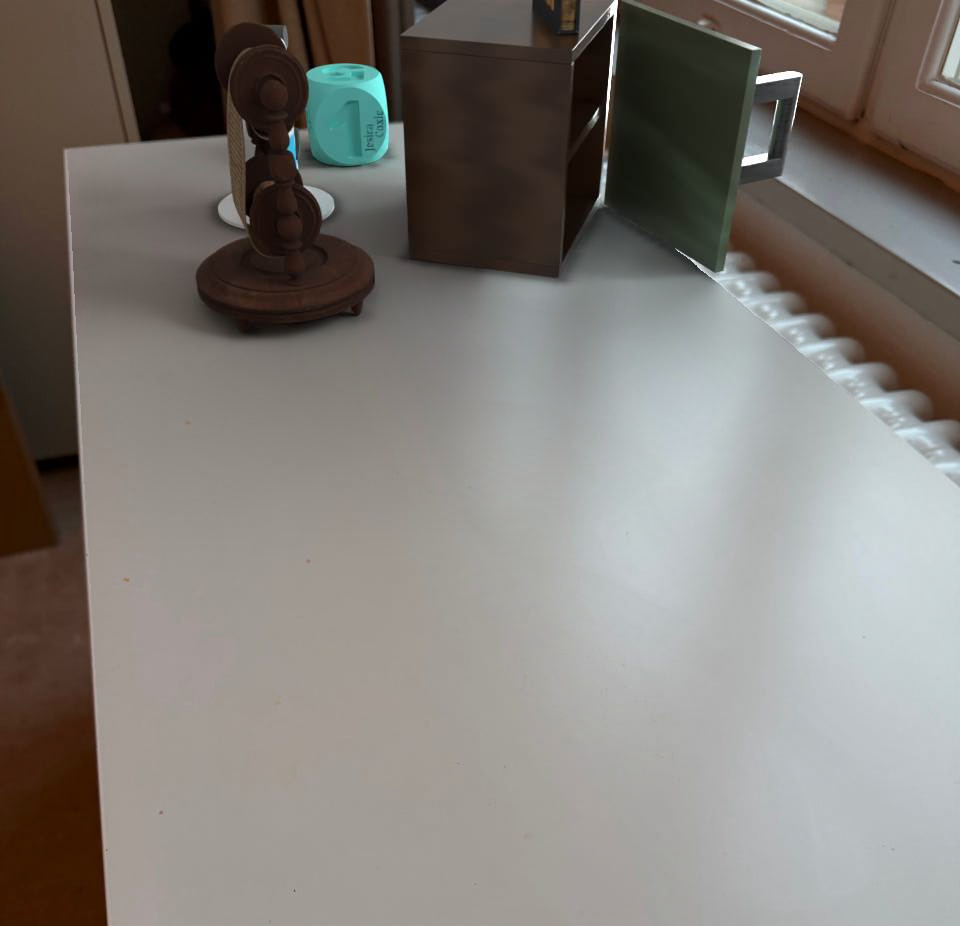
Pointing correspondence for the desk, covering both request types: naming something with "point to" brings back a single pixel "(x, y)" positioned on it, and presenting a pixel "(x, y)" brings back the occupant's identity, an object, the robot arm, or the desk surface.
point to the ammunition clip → (560, 15)
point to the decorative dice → (347, 114)
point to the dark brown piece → (274, 199)
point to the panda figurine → (324, 199)
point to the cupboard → (504, 133)
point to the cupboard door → (688, 129)
